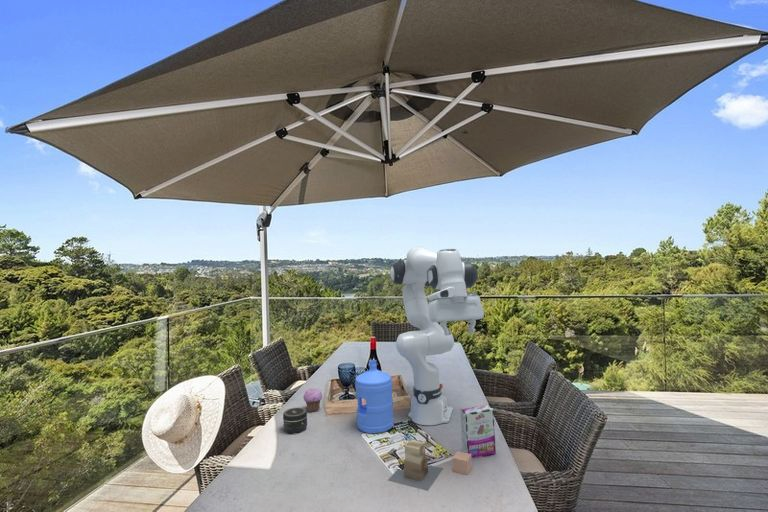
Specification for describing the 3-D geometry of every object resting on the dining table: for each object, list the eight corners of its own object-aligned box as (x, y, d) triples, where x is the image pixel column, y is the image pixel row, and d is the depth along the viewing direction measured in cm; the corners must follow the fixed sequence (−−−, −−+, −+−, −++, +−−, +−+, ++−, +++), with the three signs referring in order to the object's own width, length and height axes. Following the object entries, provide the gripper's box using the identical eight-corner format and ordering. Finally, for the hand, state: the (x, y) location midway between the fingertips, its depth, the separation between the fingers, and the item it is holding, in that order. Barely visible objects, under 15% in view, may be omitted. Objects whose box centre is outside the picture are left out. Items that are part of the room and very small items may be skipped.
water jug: (395, 418, 183) (392, 355, 183) (392, 434, 168) (389, 365, 167) (360, 418, 185) (357, 356, 184) (354, 434, 169) (351, 366, 169)
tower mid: (411, 454, 140) (411, 439, 140) (425, 457, 138) (424, 442, 138) (405, 461, 136) (404, 446, 136) (419, 464, 134) (418, 449, 134)
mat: (405, 460, 147) (405, 459, 147) (443, 469, 140) (443, 468, 140) (387, 481, 134) (387, 480, 134) (427, 491, 128) (427, 490, 128)
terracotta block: (457, 465, 142) (457, 451, 142) (471, 468, 140) (471, 454, 140) (452, 472, 138) (452, 457, 138) (467, 476, 136) (467, 461, 135)
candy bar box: (489, 448, 153) (487, 404, 153) (496, 454, 149) (494, 409, 148) (461, 453, 150) (459, 408, 150) (467, 460, 146) (466, 413, 145)
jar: (294, 436, 169) (293, 418, 169) (278, 431, 175) (277, 413, 175) (312, 427, 177) (311, 410, 177) (296, 422, 183) (296, 405, 183)
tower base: (411, 467, 141) (410, 453, 141) (427, 471, 138) (427, 456, 138) (404, 476, 136) (403, 461, 136) (420, 480, 133) (420, 465, 133)
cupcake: (302, 408, 199) (301, 388, 199) (319, 405, 203) (318, 384, 202) (306, 415, 191) (305, 393, 191) (325, 411, 195) (324, 390, 194)
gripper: (473, 294, 150) (479, 333, 147) (424, 296, 142) (429, 337, 139) (484, 291, 145) (490, 331, 141) (433, 293, 136) (438, 335, 133)
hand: (459, 334), depth 140 cm, fingers open, 8 cm apart
